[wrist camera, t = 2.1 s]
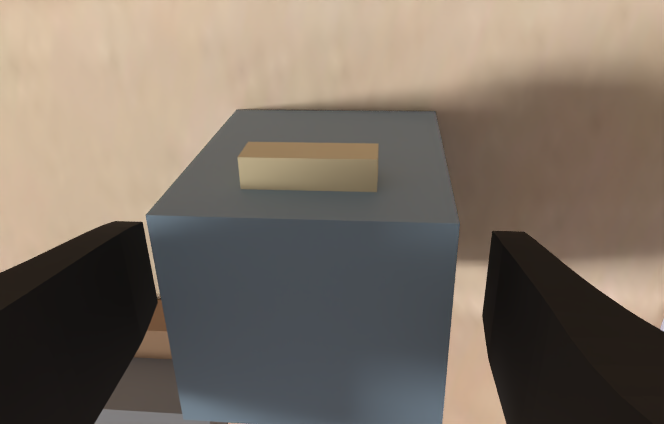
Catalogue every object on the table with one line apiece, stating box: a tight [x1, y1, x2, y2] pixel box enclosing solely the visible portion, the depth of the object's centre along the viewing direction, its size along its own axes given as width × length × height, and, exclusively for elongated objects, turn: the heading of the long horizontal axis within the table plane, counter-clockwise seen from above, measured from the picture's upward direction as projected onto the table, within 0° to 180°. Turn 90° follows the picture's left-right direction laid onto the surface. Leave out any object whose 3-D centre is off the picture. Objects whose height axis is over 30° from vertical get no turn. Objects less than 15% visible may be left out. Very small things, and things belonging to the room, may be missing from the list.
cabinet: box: [146, 110, 460, 424], centre depth 13 cm, size 5×5×6 cm
